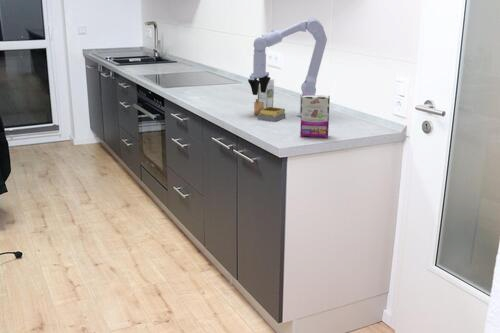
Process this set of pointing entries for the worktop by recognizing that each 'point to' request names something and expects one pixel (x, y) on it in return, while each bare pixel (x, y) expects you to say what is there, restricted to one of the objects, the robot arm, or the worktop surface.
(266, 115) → the square open tray
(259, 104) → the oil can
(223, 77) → the worktop surface
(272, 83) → the syrup box
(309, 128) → the candy bar box
